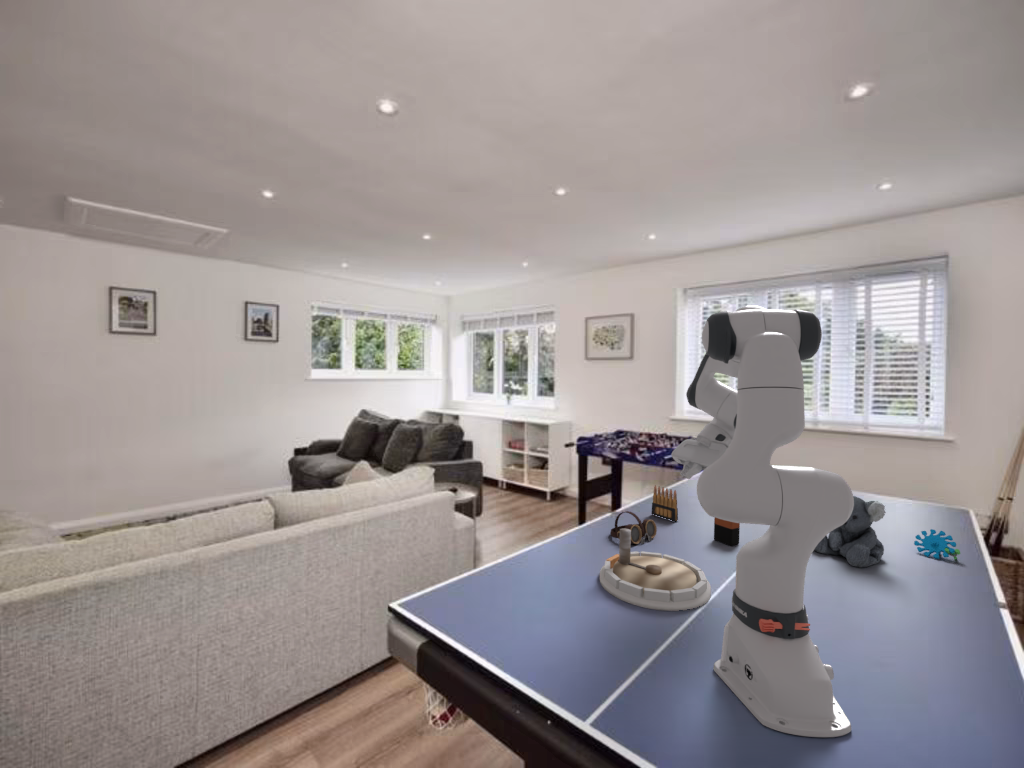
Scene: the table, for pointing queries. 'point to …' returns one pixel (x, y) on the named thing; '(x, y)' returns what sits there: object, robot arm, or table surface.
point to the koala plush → (856, 536)
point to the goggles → (636, 529)
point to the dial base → (655, 603)
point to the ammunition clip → (665, 504)
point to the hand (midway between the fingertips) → (684, 476)
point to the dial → (650, 569)
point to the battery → (726, 531)
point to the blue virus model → (936, 544)
